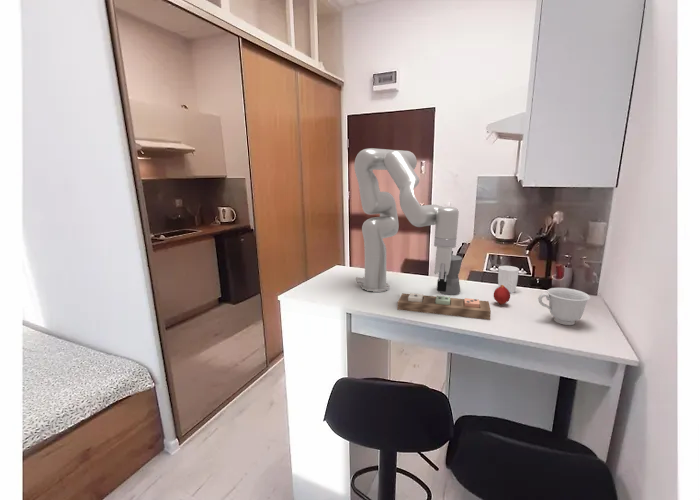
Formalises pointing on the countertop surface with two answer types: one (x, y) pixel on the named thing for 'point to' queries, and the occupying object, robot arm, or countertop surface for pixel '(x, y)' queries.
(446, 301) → the button two
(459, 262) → the coffeepot
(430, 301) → the button panel
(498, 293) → the pomegranate
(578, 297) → the teacup
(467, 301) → the button three
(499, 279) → the white cup
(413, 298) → the button one
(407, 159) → the robot arm
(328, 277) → the countertop surface
